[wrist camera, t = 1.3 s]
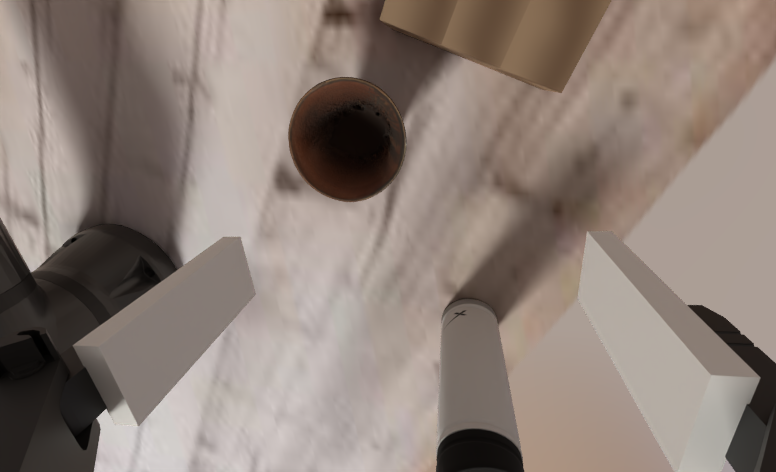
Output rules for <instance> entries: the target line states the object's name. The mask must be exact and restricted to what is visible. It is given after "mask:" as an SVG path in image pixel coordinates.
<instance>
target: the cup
mask: <svg viewBox="0 0 776 472" xmlns="http://www.w3.org/2000/svg"><path fill="white" fill-rule="evenodd" d="M288 138H289V148H290V153H291V156H292V159H293V162H294V164H295V166H296V168H297V170H298V172H299V173H300V175H301V176H302V178H303V179H304V180H305V181H306V182H307V183H308V184H309V185H310V186H311V187H312V188H314V189H315V190H316V191H318V192H319V193H321V194H323V195H325V196H327V197H329V198H332V199H335V200H339V201H344V202H356V201H362V200H366V199H369V198H371V197H373V196H375V195H377V194H378V193H380V192H382V191H383V190H384V189H385V188H386V187H387V186H389V184H391V183H392V181H393V180H394V179H395V178H396V176H397V174H398V173H399V171H400V169H401V166H402V164H403V161H404V157H405V153H406V146H407V145H406V132H405V127H404V123H403V120H402V117H401V115H400V112H399V110H398V109H397V107H396V105H395V104H394V102H393V101H392V100H391V98H390V97H389V96H388V95H387V94H386V93H385V92H384V91H383V90H382V89H380V88H379V87H377V86H376V85H374V84H372V83H370V82H368V81H365V80H362V79H358V78H352V77H339V78H333V79H329V80H326V81H324V82H321V83H319V84H317V85H316V86H314V87H313V88H312V89H310V90H309V91H308V92H307V93H306V94H305V95H304V96H303V97H302V98H301V100H300V101H299V103H298V104H297V106H296V108H295V110H294V112H293V115H292V118H291V121H290V125H289V132H288Z"/></svg>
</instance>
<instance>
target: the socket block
mask: <svg viewBox="0 0 776 472" xmlns="http://www.w3.org/2000/svg"><path fill="white" fill-rule="evenodd" d="M610 2H611V0H385V3H384V6H383V10H382V13H381V16H380V20H381V21H382V22H383V23H385V24H386V25H387V26H389V27H390V28H391V29H393V30H396V31H398V32H401V33H403V34H406V35H408V36H411V37H413V38H416V39H418V40H421V41H423V42H426V43H428V44H431V45H433V46H435V47H438V48H440V49H443V50H445V51H448V52H450V53H453V54H455V55H458V56H460V57H463V58H465V59H468V60H470V61H473V62H475V63H478V64H480V65H483V66H485V67H488V68H490V69H493V70H495V71H498V72H500V73H502V74H505V75H507V76H510V77H512V78H515V79H517V80H520V81H522V82H525V83H527V84H530V85H532V86H535V87H537V88H540V89H542V90H547V91H553V92H559V93H562V91H563V89H564V87H565V85H566V84H567V82H568V80H569V78H570V76H571V74H572V73H573V71H574V69H575V67H576V65H577V63H578V61H579V60H580V58H581V56H582V54H583V52H584V50H585V48H586V47H587V45H588V43H589V41H590V39H591V37H592V35H593V34H594V32H595V30H596V28H597V26H598V24H599V23H600V21H601V19H602V17H603V15H604V13H605V11H606V10H607V8H608V6H609V4H610Z"/></svg>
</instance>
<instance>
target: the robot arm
mask: <svg viewBox="0 0 776 472" xmlns="http://www.w3.org/2000/svg"><path fill="white" fill-rule="evenodd" d="M255 294H256V293H255V289H254V286H253V282H252V278H251V275H250V271H249V267H248V263H247V260H246V256H245V252H244V248H243V245H242V241H241V237H223V238H221V239H220V240H219V241H217V242H216V243H214V244H213V245H212V246H210V247H209V248H208V249H206V250H205V251H203V252H202V253H201V254H199V255H198V256H196V257H195V258H194V259H192V260H191V261H189V262H188V263H187V264H185V265H184V266H182V267H181V268H180V269H178V270H177V271H176V269H175V267H174V265H173V264H172V262H171V261H170V259H169V258H168V257H167V255H166V254H165V253H164V252H163V251H162V250H161V249H160V248H159V247H158V246H157V245H156V244H155V243H153V242H152V241H151V240H149V239H148V238H147V237H145V236H143V235H142V234H140V233H138V232H136V231H134V230H132V229H129V228H126V227H123V226H119V225H113V224H102V225H97V226H94V227H91V228H89V229H87V230H84V231H82V232H80V233H77V234H76V235H74V236H72V237H71V238H70V239H68V240H67V241H66V242H65V243H64V244H63V246H62V247H61V248H59V249H58V250H57V251H56V252H55V253H53V254H52V255H51V256H50V257H49V258H48V259H47V260H46V261H45V262H44V263H43V264H42V265H41V266H40V267H38V268H37V269H36V270H35V271H33V272H30V270H29V268H28V266H27V264H26V263H25V261H24V259H23V257H22V256H21V254H20V252H19V250H18V249H17V247H16V245H15V243H14V241H13V240H12V238H11V236H10V234H9V233H8V231H7V229H6V227H5V225H4V224H3V222H2V220H1V218H0V472H94V466H95V460H96V454H97V448H98V442H99V436H100V424H99V423H98V421H97V419H96V418H97V417H98V416H99V415H100V414H101V413H102V412H103V411H104V410H105V409H107V411H108V413H109V414H110V416H111V418H112V420H113V422H114V424H117V425H128V426H139V425H140V424H141V423H142V422H143V421H144V420H145V419H146V417H147V416H148V415H149V414H150V413H151V412H152V411H153V410H154V408H155V407H156V406H157V405H158V404H159V403H160V402H161V401H162V399H163V398H164V397H165V396H166V395H167V394H168V393H169V391H170V390H171V389H172V388H173V387H174V386H175V385H176V384H177V382H178V381H179V380H180V379H181V378H182V377H183V376H184V375H185V373H186V372H187V371H188V370H189V369H190V368H191V367H192V366H193V364H194V363H195V362H196V361H197V360H198V359H199V358H200V357H201V355H202V354H203V353H204V352H205V351H206V350H207V349H208V347H209V346H210V345H211V344H212V343H213V342H214V341H215V340H216V338H217V337H218V336H219V335H220V334H221V333H222V332H223V331H224V329H225V328H226V327H227V326H228V325H229V324H230V323H231V322H232V320H233V319H234V318H235V317H236V316H237V315H238V314H239V313H240V311H241V310H242V309H243V308H244V307H245V306H246V305H247V303H248V302H249V301H250V300H251V299H252V298H253V297H254V296H255ZM578 301H579V302H580V304H581V306H582V308H583V310H584V311H585V313H586V315H587V317H588V318H589V320H590V322H591V324H592V326H593V327H594V329H595V331H596V333H597V334H598V336H599V338H600V340H601V342H602V344H603V345H604V347H605V349H606V351H607V352H608V354H609V356H610V358H611V360H612V361H613V363H614V365H615V367H616V369H617V370H618V372H619V374H620V376H621V377H622V379H623V381H624V383H625V384H626V386H627V388H628V390H629V392H630V393H631V395H632V397H633V399H634V401H635V402H636V404H637V406H638V408H639V410H640V411H641V413H642V415H643V417H644V418H645V420H646V422H647V424H648V426H649V428H650V429H651V431H652V433H653V434H654V436H655V438H656V440H657V442H658V444H659V445H660V447H661V449H662V451H663V453H664V454H665V456H666V458H667V460H668V461H669V463H670V465H671V467H672V469H673V470H674V472H721V471H722V469H723V466H724V464H725V462H726V459H727V460H728V461H729V463H730V464H731V466H732V467H733V469H734V470H735V472H776V363H775V362H773V361H772V360H771V359H770V358H769V357H768V356H767V355H766V354H765V353H764V352H762V351H761V350H760V349H759V348H758V347H754V343H752V342H751V341H750V340H749V339H748V338H747V337H746V336H745V335H741V334H740V331H739V330H738V329H737V328H735V327H734V326H733V325H732V324H731V323H730V322H729V321H728V320H727V319H726V318H724V317H723V316H721V315H719V314H717V313H715V312H713V311H711V310H710V309H708V308H706V307H704V306H702V305H686V304H685V303H684V302H683V301H682V300H681V299H680V298H679V297H678V296H677V295H676V294H675V293H674V292H673V291H672V290H671V289H670V288H669V287H668V286H667V285H666V284H665V283H664V282H663V281H662V280H661V279H660V278H659V277H658V276H657V275H656V274H655V273H654V272H653V271H652V270H651V269H650V268H649V267H648V266H647V265H646V264H645V263H644V262H643V261H641V259H639V258H638V257H637V256H636V255H635V254H634V253H633V252H632V251H631V250H630V249H629V248H628V247H627V246H626V245H625V244H624V243H623V242H622V241H621V240H620V239H619V238H618V237H617V236H616V235H615V234H614V233H613V232H612V231H587V236H586V243H585V250H584V257H583V264H582V271H581V278H580V285H579V292H578Z"/></svg>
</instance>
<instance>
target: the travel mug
mask: <svg viewBox="0 0 776 472" xmlns="http://www.w3.org/2000/svg"><path fill="white" fill-rule="evenodd" d="M436 455H437V466H436V472H524V469H523V457H522V452H521V446H520V441H519V436H518V430H517V425H516V419H515V414H514V409H513V404H512V398H511V392H510V387H509V381H508V376H507V371H506V365H505V360H504V354H503V349H502V343H501V338H500V333H499V328H498V322H497V317H496V314H495V312H494V311H493V310H492V308H491V307H490V306H488V305H487V304H486V303H484V302H482V301H479V300H475V299H462V300H458V301H456V302H454V303H452V304H450V305H449V306H448V307H447V308H446V309H445V311H444V313H443V315H442V322H441V347H440V371H439V396H438V421H437V448H436Z"/></svg>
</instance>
